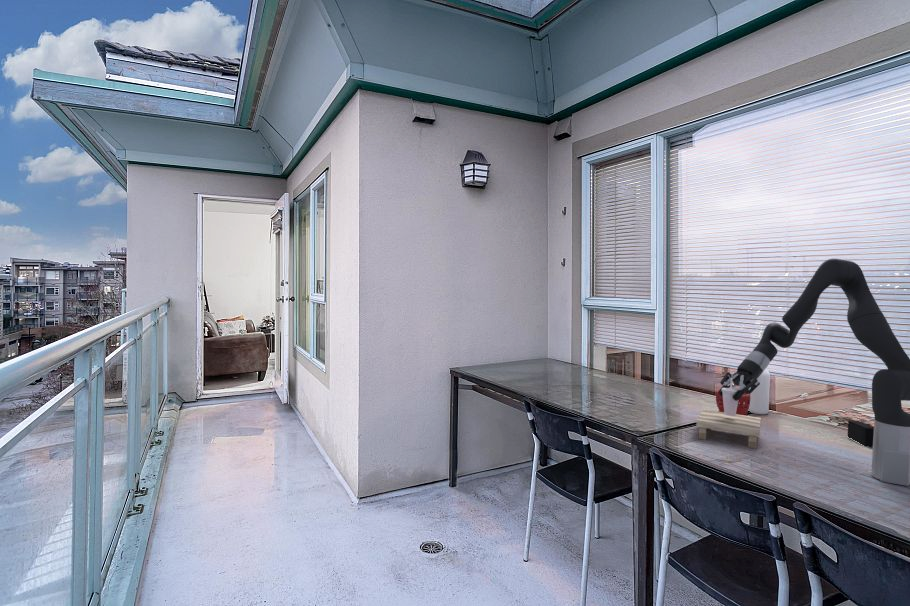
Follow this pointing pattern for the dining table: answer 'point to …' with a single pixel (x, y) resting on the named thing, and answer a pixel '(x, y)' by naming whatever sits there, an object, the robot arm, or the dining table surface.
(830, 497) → the dining table surface
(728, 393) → the smoothie
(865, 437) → the digital camera
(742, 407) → the plant pot
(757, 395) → the alcohol
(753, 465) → the dining table surface
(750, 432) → the low wooden platform
